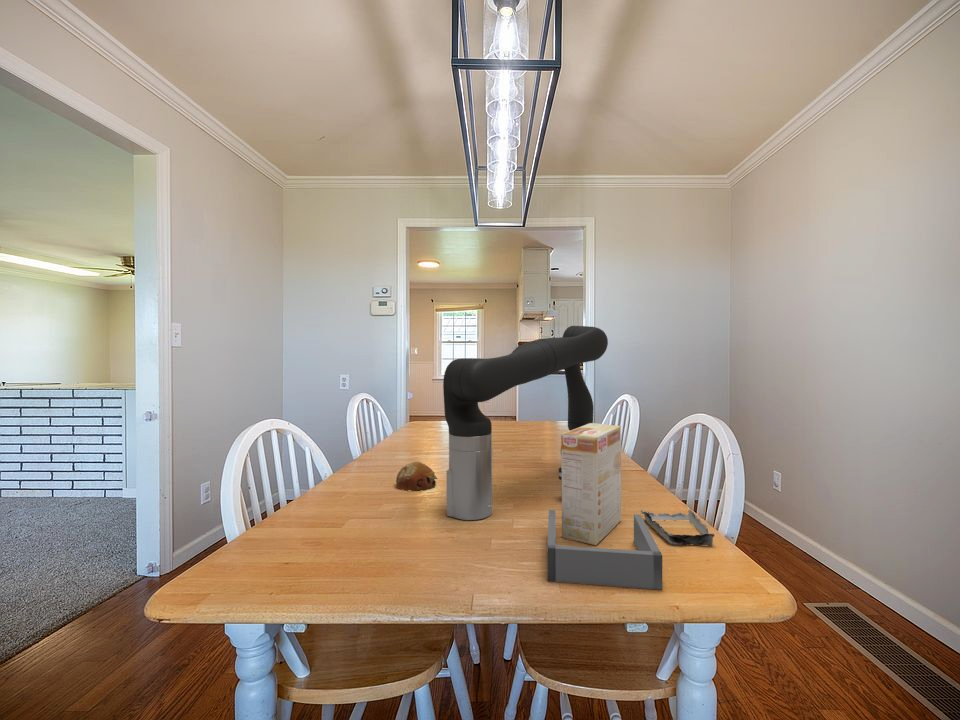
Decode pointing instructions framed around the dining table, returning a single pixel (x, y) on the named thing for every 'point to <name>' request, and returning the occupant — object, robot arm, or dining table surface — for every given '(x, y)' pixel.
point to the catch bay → (606, 561)
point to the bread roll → (416, 477)
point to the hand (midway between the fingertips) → (588, 485)
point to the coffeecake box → (591, 482)
